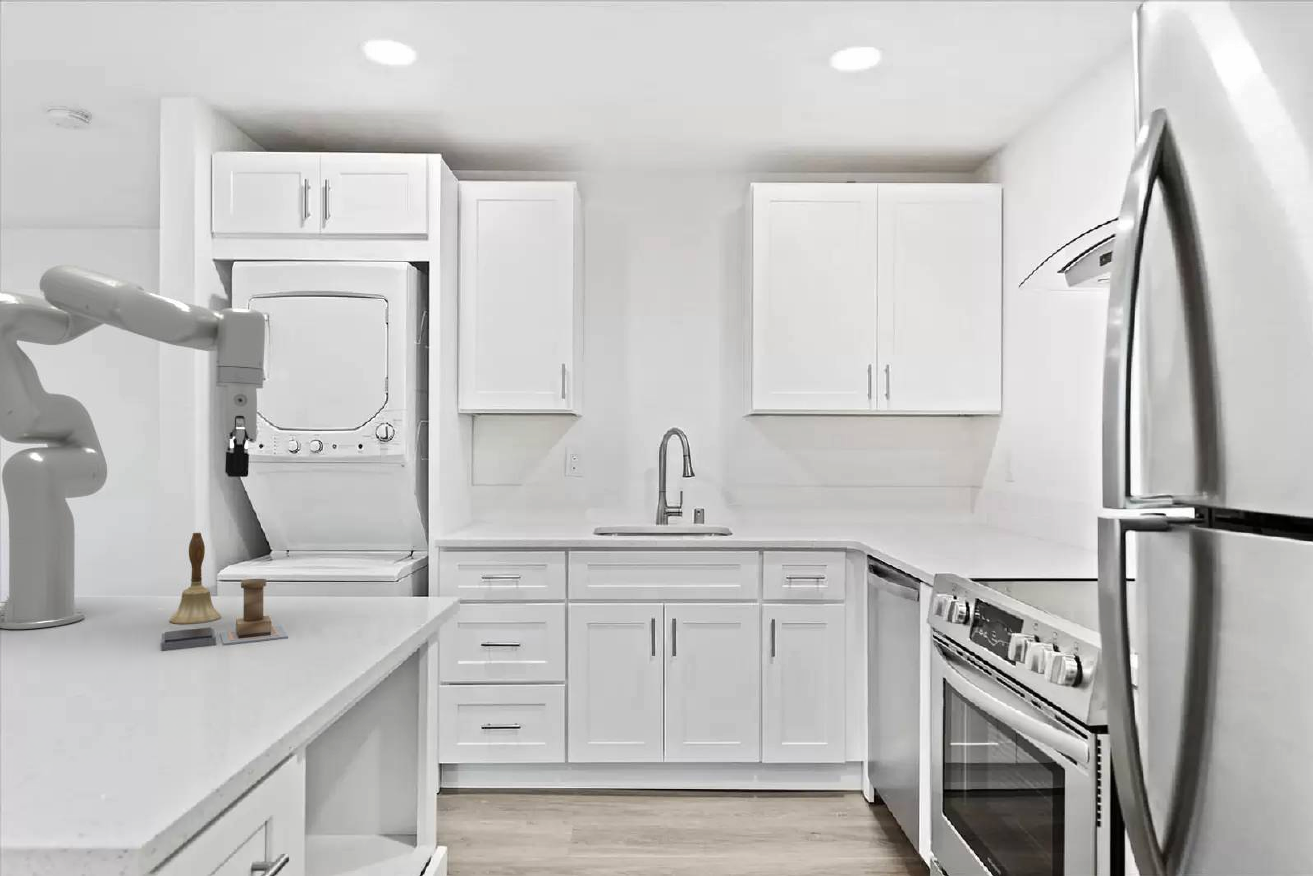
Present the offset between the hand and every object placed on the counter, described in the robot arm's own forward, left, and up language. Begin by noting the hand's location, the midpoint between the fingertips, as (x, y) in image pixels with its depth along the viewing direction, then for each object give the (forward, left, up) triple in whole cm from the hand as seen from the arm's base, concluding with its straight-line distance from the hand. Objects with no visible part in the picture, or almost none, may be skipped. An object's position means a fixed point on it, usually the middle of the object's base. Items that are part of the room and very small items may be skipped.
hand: (236, 475), depth 146 cm
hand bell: (-6, +10, -27) cm, 29 cm away
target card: (+2, -10, -27) cm, 29 cm away
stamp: (+2, -10, -26) cm, 28 cm away
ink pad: (-8, -10, -27) cm, 29 cm away
